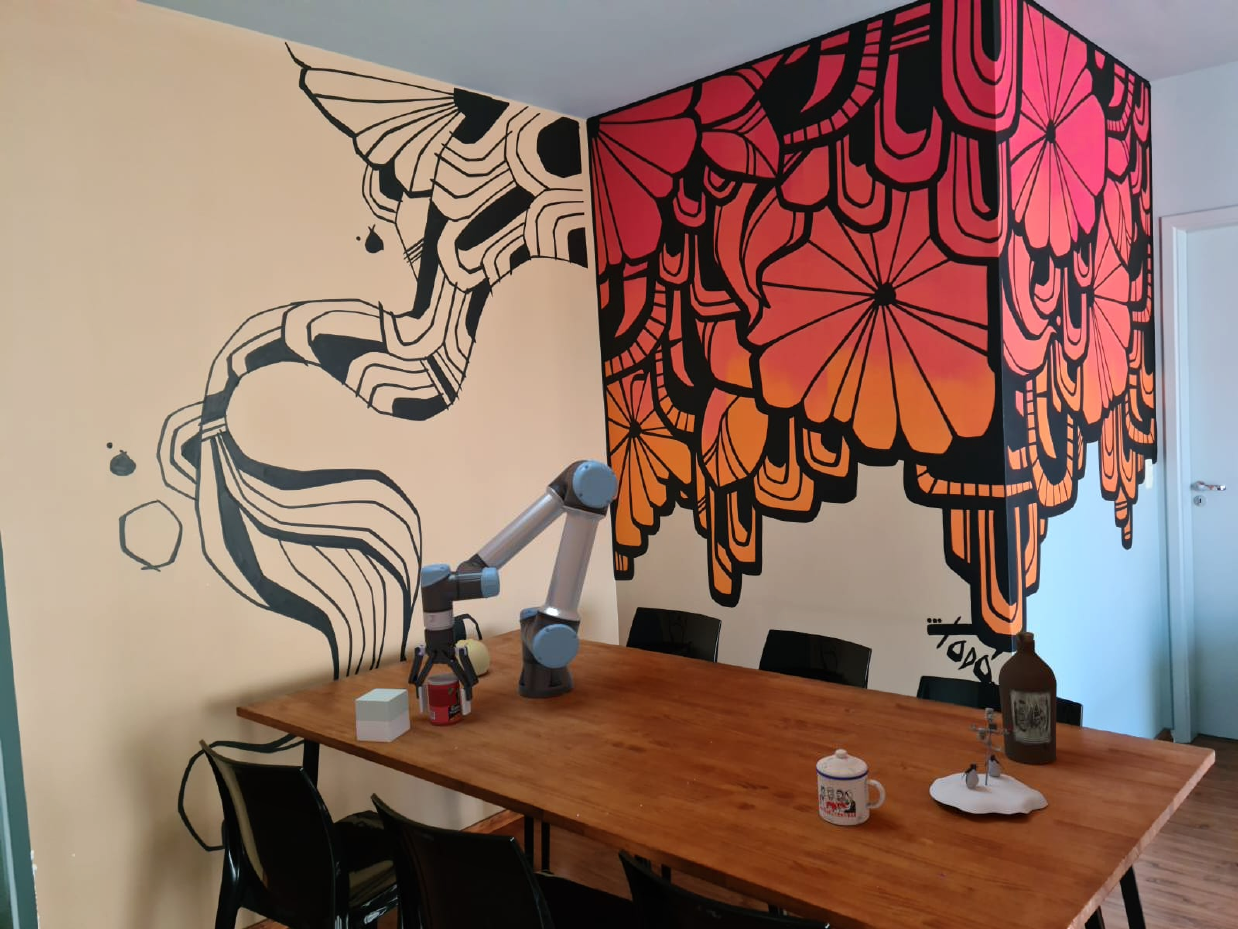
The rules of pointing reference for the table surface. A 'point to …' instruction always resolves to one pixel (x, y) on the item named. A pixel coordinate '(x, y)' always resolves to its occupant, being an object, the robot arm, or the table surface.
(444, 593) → the robot arm
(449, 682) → the canned food
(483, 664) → the sculpture
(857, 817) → the teacup with lid
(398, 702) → the tower top
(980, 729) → the figurine
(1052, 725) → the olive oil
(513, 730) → the table surface
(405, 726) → the tower base
